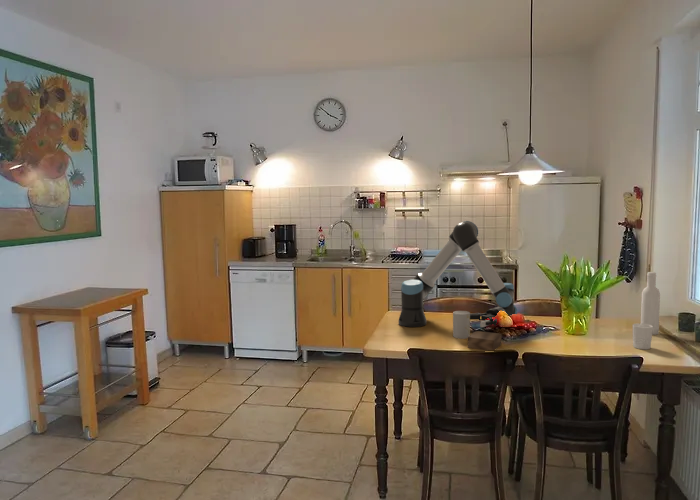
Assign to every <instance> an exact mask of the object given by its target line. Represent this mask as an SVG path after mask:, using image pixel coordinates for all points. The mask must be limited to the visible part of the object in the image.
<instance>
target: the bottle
mask: <svg viewBox="0 0 700 500" xmlns="http://www.w3.org/2000/svg"><path fill="white" fill-rule="evenodd" d="M646 276H647V277H646V278H647V279H646V287H644V288H643V289H642V291H641V302H640V303H641V305H640V307H641V308H640V324H648V325H652V326H653V330H652V336H654V335H655V336H656V335H659V332H660V305H661V294H660V290H659V289H658V288H657V287H656V280H657V273H656V272H655V271H648V272H647V274H646Z"/></svg>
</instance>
